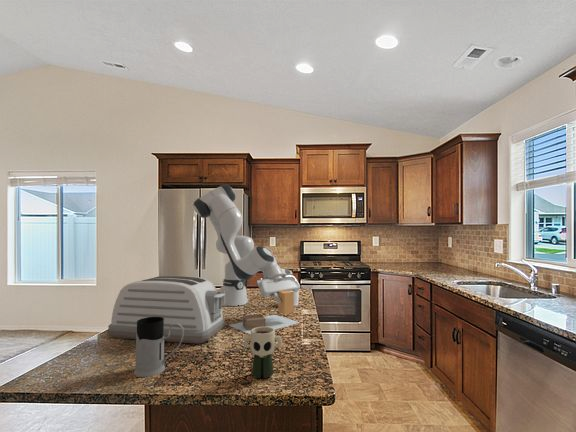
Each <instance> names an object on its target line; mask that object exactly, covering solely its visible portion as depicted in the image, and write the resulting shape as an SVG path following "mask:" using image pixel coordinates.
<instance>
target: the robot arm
mask: <svg viewBox="0 0 576 432" xmlns="http://www.w3.org/2000/svg"><path fill="white" fill-rule="evenodd" d="M235 200H236V194H235V191H234V189H233V187H231V186H230V185H229V184H226V183H225V184H222V185H220V186H218V187H216V188H213V189H211V190H209V191H208V192H206V193H205V194H203V195H202V196H201V197H198V198H197V199H195V201H194V202H193V209H194V211H195V213H196V215H198V216H199V218H203V219H206V218H209V221H210V222H211V224H212V226H213V228H214V230H215V232H216V236H217V240H216V242H215V247H216V249H217V251H218V252H219V253H222V254H225V255H227V256H228V258H229V260H228V261H227V263H226V264H225V266H224V279H223V278H222V282H223V283H222V286H221V287H220V288H219V289H218V290H217V291H220V292H221V294H225V295H224V296H222V297H221V307H236V306H237V307H239V306H245V305H247V304H246V303H248V302H249V299H248V295H247V294H248V293H247V287H246V286H245V285H246V281H249V280H250V279H251V278H253V276H254V275H256V274H257V273H259V271H261V272H262V275H263V277H262V278H261V277H260V278H258V279H257V280H256V284H257V286H258V290H259V293H260V295H261V297H263V298H269V297H272V298H273V299H275V301H277V304H278V303H282V301H283V300H282V298H279V297H278V292H281V291H287V290H288V291H292V292H298V290H299V291H300V289H301V285H300V283H299V281H298V279H297V278H296V277H295V276H294V275H293V271H291V270H289V269H284V268H281V266H280V265H279V264H278V261H277V259H276V257H275V255H274V254H273V252H272V251H271V250H270V248H268V247H267V246H263V245H262V246H261V245H260V246H259V245H258V246H256V247H255V242H254V239H253V238H252V237H250V236H247V235H237V234H238V233H239V231H240V230H241V228H242V226H243V222H244V219H243V214H242V213H241V211H240V209H239V208H238V206H237V205H236V204H235V203H234V201H235ZM238 305H239V306H238Z"/></svg>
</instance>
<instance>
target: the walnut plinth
mask: <svg viewBox="0 0 576 432" xmlns="http://www.w3.org/2000/svg"><path fill="white" fill-rule="evenodd" d="M264 317H265V316H263V315H262V314H261V313H258V314H257V313H256V314H246V315H242V322H243V326H244V327H245V329H246V330H252V329H253V328H256V327H266V319H265V318H264Z"/></svg>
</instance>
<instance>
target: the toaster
mask: <svg viewBox="0 0 576 432" xmlns="http://www.w3.org/2000/svg"><path fill="white" fill-rule="evenodd" d="M224 295H225V294H221V292H220V291H218V290H217V288H216V286H215V285H214V283H213V282H212V281H211V280H209V279H208V278H204V277H199V276H188V275H160V276H156V277H151V278H148V279H142V280H138V281H133V282H129V283H128V284H126V285H124V286H123V287H122V288H121V289H120V291H119V293H118V294H117V297H116V299H115V302H114V306H113V309H112V314H111V320H110V321H111V323H110V324H108V327H107V335H108V336H109V337H111V338H115V339H126V340H127V339H128V340H129V339H130V340H136V330H137V321H138V320H140V319H143V318H147V317H162V318H164V337H168V331H169V328H170V326H171V325H173V324H175V323H176V324H180V325H181V326H182V327H183V331H184V333H183V339H182V342H181V344H183V343H184V344H193V345H194V344H197V345H199V344H204V343H207V341H209V339H210V338H212V337H213V336H215V335H216V334H217V333H218V332H220V331H221V330H222V329H224V328H225V327H226V321H225V317H224V316H223V309H222V307H223V306H221V297H222V296H224ZM181 338H182V329H181V327H180V326H179V325H173V326H172V327H171V329H170V335H169V337H168V338H166V339H164V342H168V343H178V344H179V343H180V341H181Z"/></svg>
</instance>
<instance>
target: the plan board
mask: <svg viewBox="0 0 576 432" xmlns="http://www.w3.org/2000/svg"><path fill="white" fill-rule="evenodd" d="M263 317H264V318H265V319H266V327H271V328H274V330H275V331H276V330H278V329H282V328H286V327H289V326H292V325H294V326H295V325H296V324H299V323H301V322H300V321H297V320H294V319H290V318H288V317H287V318H286V317H283V316H280V315H277V314H271V315H268V316H263ZM228 326H229V327H231V328H233V329H236V330H239V331H241V332H243V333H246V334H248V335H249V336H251V330H246V329H245V327H244V326H243V321H242V322H238V323H233V324H228Z"/></svg>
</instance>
